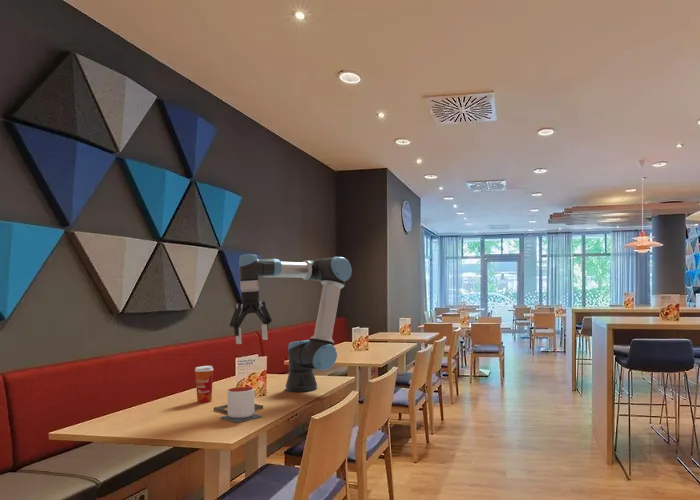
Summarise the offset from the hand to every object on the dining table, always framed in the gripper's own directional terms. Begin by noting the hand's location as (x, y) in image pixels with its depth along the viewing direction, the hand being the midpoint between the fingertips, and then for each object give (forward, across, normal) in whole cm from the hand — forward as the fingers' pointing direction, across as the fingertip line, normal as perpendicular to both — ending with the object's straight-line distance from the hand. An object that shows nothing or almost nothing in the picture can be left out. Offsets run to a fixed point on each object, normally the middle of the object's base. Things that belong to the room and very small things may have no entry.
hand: (252, 341), depth 221 cm
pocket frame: (+26, +8, 0) cm, 28 cm away
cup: (+26, +16, +12) cm, 33 cm away
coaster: (+26, +16, +12) cm, 33 cm away
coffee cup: (+26, +8, -26) cm, 38 cm away
